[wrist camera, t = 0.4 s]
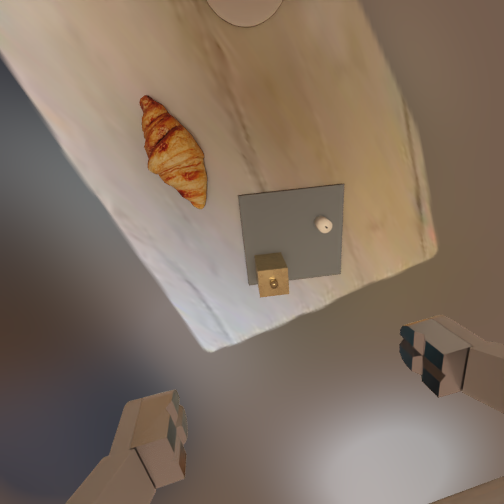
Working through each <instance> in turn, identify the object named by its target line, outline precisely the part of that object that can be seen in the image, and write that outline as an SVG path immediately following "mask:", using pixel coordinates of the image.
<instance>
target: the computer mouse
mask: <svg viewBox="0 0 504 504" xmlns="http://www.w3.org/2000/svg"><path fill="white" fill-rule="evenodd" d="M314 225H315V227H316V228H317V229H318V230H319V231H320V232H322V233H328V232H329V231H331V229H332V223H331V222H330V221H329V220H328V219H327V218H325V217H324V216H318V217H316V218H315V220H314Z"/></svg>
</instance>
